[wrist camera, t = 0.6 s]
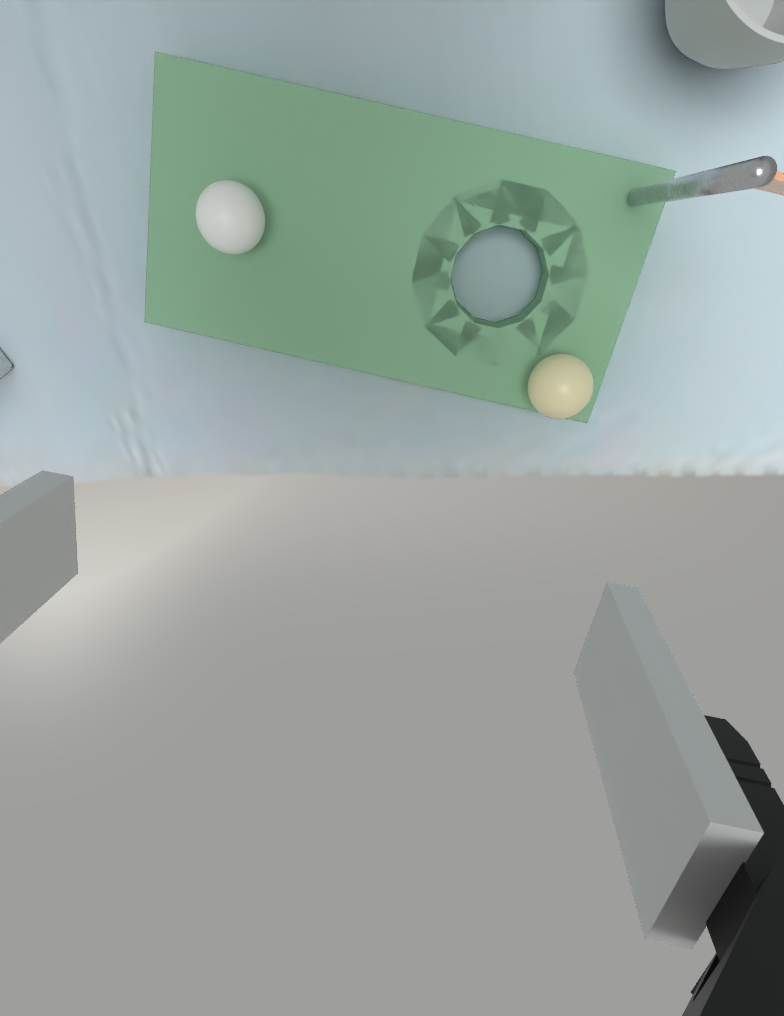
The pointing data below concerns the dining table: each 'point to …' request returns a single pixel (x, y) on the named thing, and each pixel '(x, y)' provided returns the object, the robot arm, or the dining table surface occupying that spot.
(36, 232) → the dining table surface
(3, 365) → the skincare box
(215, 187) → the ball
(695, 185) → the flag
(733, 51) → the cup
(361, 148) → the green
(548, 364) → the yellow ball
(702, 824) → the robot arm
